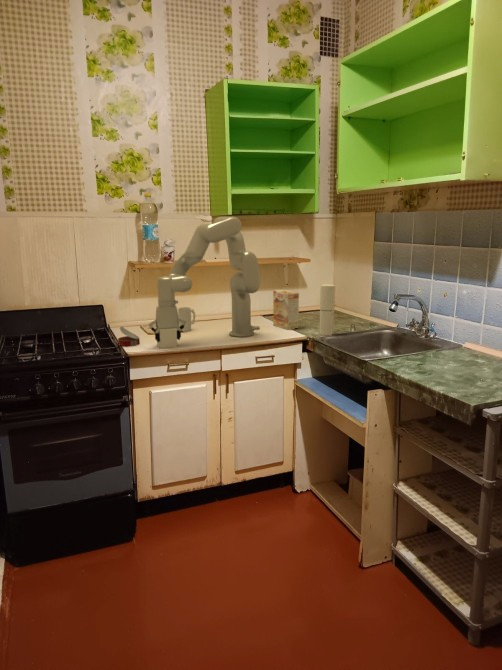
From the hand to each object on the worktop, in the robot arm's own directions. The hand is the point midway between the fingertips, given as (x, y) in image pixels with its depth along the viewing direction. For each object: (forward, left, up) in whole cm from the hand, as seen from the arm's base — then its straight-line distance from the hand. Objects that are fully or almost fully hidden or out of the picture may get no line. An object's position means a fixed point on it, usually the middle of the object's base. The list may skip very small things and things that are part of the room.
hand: (168, 340), depth 237 cm
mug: (-18, -31, -3) cm, 36 cm away
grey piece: (0, -1, -3) cm, 3 cm away
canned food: (+16, -12, -3) cm, 20 cm away
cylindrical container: (-80, +7, -3) cm, 80 cm away
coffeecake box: (-69, -17, -3) cm, 71 cm away
